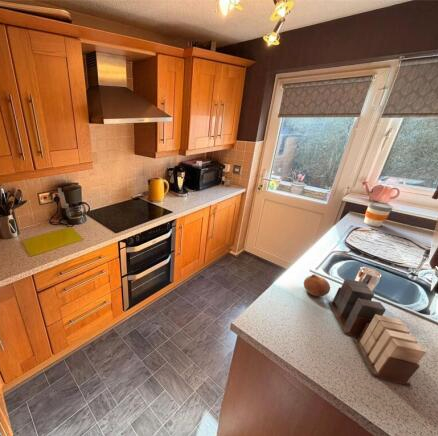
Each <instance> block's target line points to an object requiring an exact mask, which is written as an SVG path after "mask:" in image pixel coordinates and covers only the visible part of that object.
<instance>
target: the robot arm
mask: <svg viewBox="0 0 438 436" xmlns="http://www.w3.org/2000/svg"><path fill="white" fill-rule="evenodd" d="M433 270H434V275H435V277H436V278H437V279H438V266H435V267H434V269H433ZM433 290H434V291H435V293H436V294H438V283H437V284H436V286H434V289H433Z"/></svg>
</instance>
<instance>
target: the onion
mask: <svg viewBox="0 0 438 436" xmlns="http://www.w3.org/2000/svg"><path fill="white" fill-rule="evenodd" d="M303 287H304V289H305V291H306V292H307V293H308V294H309V295H311V296H313V297H315V298H316V297H317V298H323V297H324V296H327V294H329V293H330V292H331V285H330V283H329V282H328V280H327V279H325V278H324V277H321V276H319V275H317V274H314V273H313V274H311V275H309V276H307V277H306V278H305V279H304V282H303Z"/></svg>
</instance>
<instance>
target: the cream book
mask: <svg viewBox="0 0 438 436" xmlns="http://www.w3.org/2000/svg"><path fill="white" fill-rule="evenodd" d="M392 339H397V340H401V341H406V342H410V343H415V344H418V340H417V339H416V337H415V336H414V335H413V334H411V333H410V334H405V333H401V332H396V331H392V330H387V329H386V330H385V331H384V333H383V334H382V336H381V338H380V339H379V341H378V342H377V344H376V345H375V347H374V349H373V350H372V352H371V353H370V355H369V358H370V360H371V362H372V363H374V364H376V363H377V361H378V360H379V358H380V357H381V355H382V354H383V352H384V351H385V349H386V348H387V346H388V345H389V343H390V342H391V340H392Z"/></svg>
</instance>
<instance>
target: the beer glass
mask: <svg viewBox="0 0 438 436" xmlns="http://www.w3.org/2000/svg"><path fill="white" fill-rule="evenodd" d="M382 276H383V275H382V273H381V272H380V270H379V271H378V270H377V269H375V268H372V267H369V266H361V267H360V269H359V270H358V272H357V273H356V275H355V278H354V281H359V282H365V284H366V285H367V286H368V287H369V289H370V290H371V291H372V292H373V291H374V290H375V289H376V288H377V286H378V285H379V283H380V281H381V278H382Z"/></svg>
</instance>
